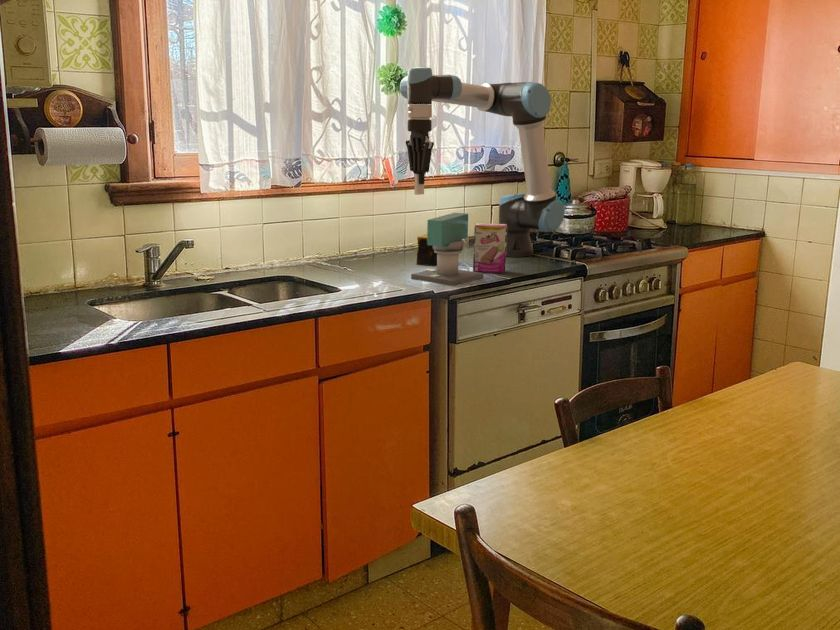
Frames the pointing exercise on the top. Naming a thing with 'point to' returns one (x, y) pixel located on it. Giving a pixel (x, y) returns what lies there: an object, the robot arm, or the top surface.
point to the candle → (425, 252)
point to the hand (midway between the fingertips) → (419, 194)
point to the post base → (448, 279)
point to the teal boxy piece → (447, 232)
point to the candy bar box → (490, 248)
